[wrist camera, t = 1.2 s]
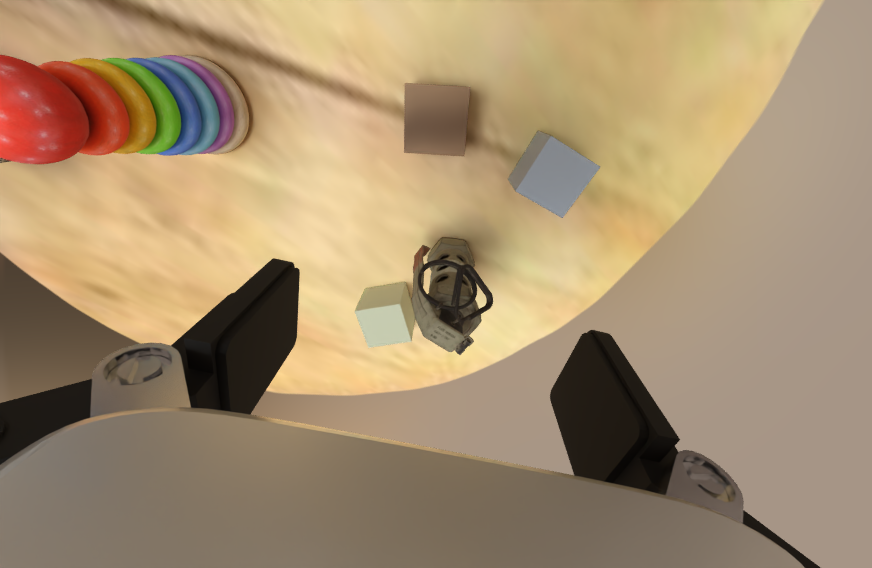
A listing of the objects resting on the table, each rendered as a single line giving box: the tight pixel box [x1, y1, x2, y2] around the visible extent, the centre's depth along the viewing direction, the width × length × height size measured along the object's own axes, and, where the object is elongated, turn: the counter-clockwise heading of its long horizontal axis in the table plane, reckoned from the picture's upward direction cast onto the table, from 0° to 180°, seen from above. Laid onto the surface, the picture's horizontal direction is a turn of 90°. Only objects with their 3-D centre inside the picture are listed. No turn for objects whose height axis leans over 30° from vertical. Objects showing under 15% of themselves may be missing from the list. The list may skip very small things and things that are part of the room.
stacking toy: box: [0, 55, 249, 164], centre depth 24 cm, size 8×8×19 cm
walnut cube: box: [404, 83, 470, 156], centre depth 29 cm, size 5×5×5 cm
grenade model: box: [411, 238, 493, 355], centre depth 31 cm, size 6×7×15 cm
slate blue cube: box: [508, 131, 600, 218], centre depth 31 cm, size 5×5×5 cm
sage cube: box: [355, 282, 415, 348], centre depth 39 cm, size 5×5×5 cm
